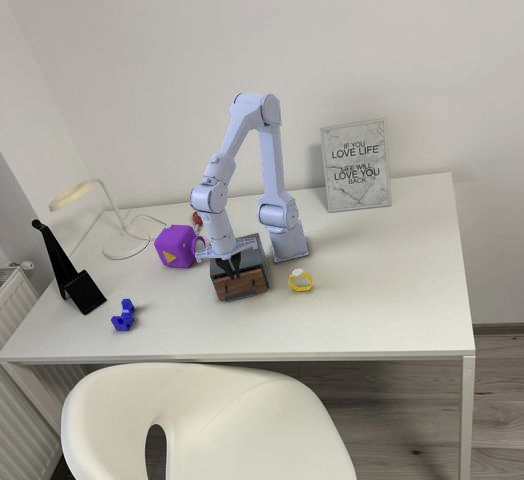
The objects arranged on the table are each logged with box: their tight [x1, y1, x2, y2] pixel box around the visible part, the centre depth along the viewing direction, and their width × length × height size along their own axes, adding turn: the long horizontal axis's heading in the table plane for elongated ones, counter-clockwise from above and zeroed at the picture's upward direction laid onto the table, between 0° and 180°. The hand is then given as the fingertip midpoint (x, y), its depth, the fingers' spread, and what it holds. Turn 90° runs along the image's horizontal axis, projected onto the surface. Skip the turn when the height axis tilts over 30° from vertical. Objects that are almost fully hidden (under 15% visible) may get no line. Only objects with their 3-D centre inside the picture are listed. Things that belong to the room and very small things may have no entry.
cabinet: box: [209, 232, 271, 301], centre depth 145 cm, size 14×14×9 cm
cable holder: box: [110, 298, 136, 332], centre depth 145 cm, size 8×4×4 cm, turn 164°
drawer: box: [212, 267, 269, 303], centre depth 141 cm, size 17×12×7 cm
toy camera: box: [153, 223, 207, 268], centre depth 157 cm, size 11×14×10 cm
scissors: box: [192, 211, 203, 234], centre depth 171 cm, size 5×14×1 cm, turn 172°
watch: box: [287, 267, 314, 292], centre depth 136 cm, size 6×3×6 cm, turn 76°
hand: (235, 276), depth 133 cm, fingers closed
